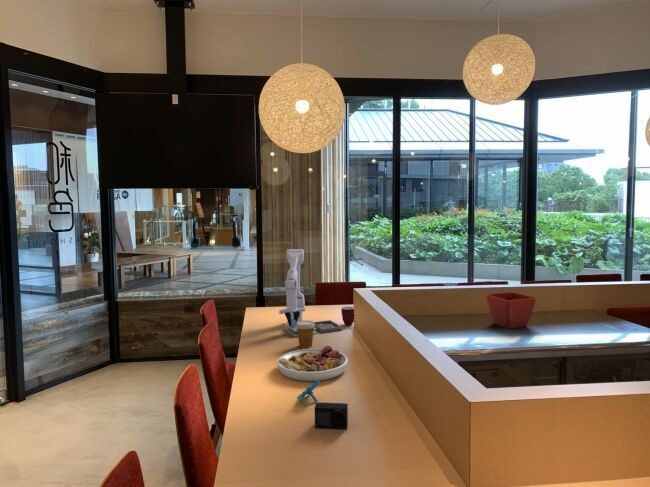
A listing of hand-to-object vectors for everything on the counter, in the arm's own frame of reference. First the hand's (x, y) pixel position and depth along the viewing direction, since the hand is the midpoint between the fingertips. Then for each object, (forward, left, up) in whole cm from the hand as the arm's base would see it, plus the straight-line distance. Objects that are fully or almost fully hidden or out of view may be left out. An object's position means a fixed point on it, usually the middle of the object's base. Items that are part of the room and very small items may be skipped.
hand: (292, 325), depth 263 cm
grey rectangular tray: (0, +20, -4) cm, 20 cm away
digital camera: (+109, -24, -4) cm, 112 cm away
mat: (0, +5, -4) cm, 6 cm away
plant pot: (+40, +116, -4) cm, 123 cm away
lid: (0, +4, -2) cm, 5 cm away
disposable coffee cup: (+26, -2, -4) cm, 26 cm away
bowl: (+59, -11, -4) cm, 60 cm away
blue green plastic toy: (+88, -24, -4) cm, 91 cm away
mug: (0, +35, -4) cm, 35 cm away
